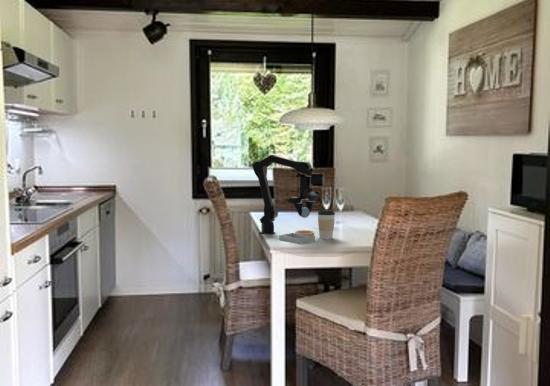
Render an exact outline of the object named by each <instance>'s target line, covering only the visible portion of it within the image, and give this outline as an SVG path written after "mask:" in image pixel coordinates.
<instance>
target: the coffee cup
mask: <svg viewBox="0 0 550 386" xmlns="http://www.w3.org/2000/svg"><path fill="white" fill-rule="evenodd" d="M317 217H318V218H317V221H318V223H317V225H318V235H319V239H322V240H331V239H333V236H334V230H335V229H334V228H335V217H336V213H335V211H334V210H333V209H329V208H323V209H322V208H320V209H319V211H317Z"/></svg>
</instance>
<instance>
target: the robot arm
mask: <svg viewBox="0 0 550 386" xmlns="http://www.w3.org/2000/svg"><path fill="white" fill-rule="evenodd" d="M273 164H277V165H281V166H284V167H288V168H292V169H294V170H296V172H298V173H297V174H296V175H295V177H296V178H299V187H297V190H298V191H299V192H298V195H297V196H288V200H287V202H288V203H289V204H293V205H294V207H295V209H296V211H297V214H298V216H299V217H301V214H302V208H303V205H304V203H303V202H305V207H306V208H308V209H309V211H310V214H311V212H312V209H313V206H314V205H315V204H317V202H321V198H322V197H321V191H319V190H316V191H313V188H312V187H311V185H312V186H313V187H324V188H325V185H326V178H325V173H324V172H323V173H322V172H321V173H316V172H315V170H313V168H312V166H313V165H312V164H311V163H310V162H309V161H303V160H301V161H299V160H293V159H289V158H286V157H282V156H279V155H276V154H270V155H268V156H266V157H264V158H263V159H261V160H260V161H255V162H254V163H253V165H252V170H253V172H254V174H255V175H256V177H257V179H258V183H259V187H260V192H261V195H262V201H263V204H264V205H263V215H262V217H260V219H259V221H260V223H261V230H260V231H259V234H261V235H274V234H276V232H275V224H274V222H275V220H276V219H277V218H278V216H279V212H280V211H279V209H278V204H274V202H273V199H272V195H271V191H270V190H271V189H270V186H269V181H268V178H267V177H268V176H267V175H268V167H269V166H271V165H273ZM310 214H309V216H310Z"/></svg>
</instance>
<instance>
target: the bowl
mask: <svg viewBox="0 0 550 386" xmlns="http://www.w3.org/2000/svg"><path fill="white" fill-rule="evenodd" d="M294 233H297V234H303V235H309V236H315V231H314V230H306V229H304V230H301V229H300V230H296V231H295V232H294Z"/></svg>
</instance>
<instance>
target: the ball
mask: <svg viewBox="0 0 550 386" xmlns="http://www.w3.org/2000/svg"><path fill="white" fill-rule="evenodd" d="M309 214H311V212H310V211H309V209H308V208H306V206H304V207H303V206H302V214H301V216H300V217H301V218H303V219H305V218H308V217H309V216H310V215H309Z"/></svg>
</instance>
